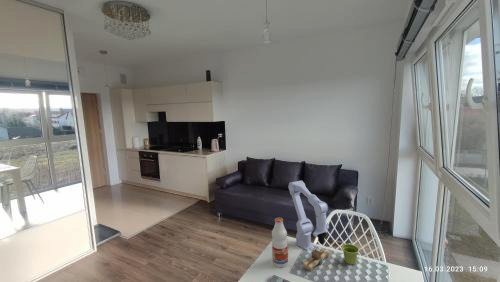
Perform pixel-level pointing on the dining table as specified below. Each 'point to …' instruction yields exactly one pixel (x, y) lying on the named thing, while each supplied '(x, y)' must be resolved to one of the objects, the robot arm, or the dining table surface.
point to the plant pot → (350, 253)
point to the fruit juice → (279, 244)
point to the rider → (316, 254)
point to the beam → (315, 261)
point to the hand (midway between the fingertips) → (321, 243)
